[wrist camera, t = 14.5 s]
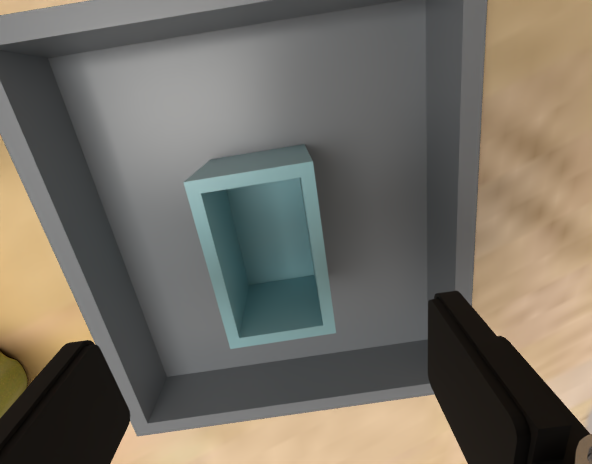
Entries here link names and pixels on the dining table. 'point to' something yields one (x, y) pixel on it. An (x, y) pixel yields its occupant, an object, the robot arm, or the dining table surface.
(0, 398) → the plant pot
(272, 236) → the teal crate
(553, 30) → the dining table surface
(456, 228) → the tray
